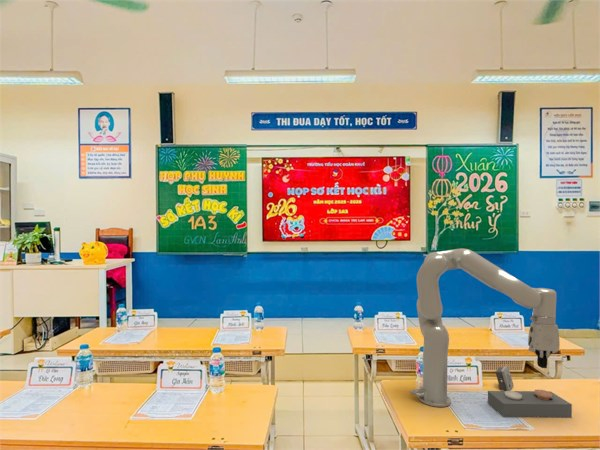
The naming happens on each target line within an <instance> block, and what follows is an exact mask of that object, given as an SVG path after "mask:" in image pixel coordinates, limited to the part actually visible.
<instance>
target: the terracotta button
mask: <svg viewBox="0 0 600 450" xmlns="http://www.w3.org/2000/svg"><path fill="white" fill-rule="evenodd" d="M533 391H534V394H535V395H536V396H537V398H539V399H540V400H549V398H552V393H553V392H552V393H550V392H548V390H545V389H535V390H533Z"/></svg>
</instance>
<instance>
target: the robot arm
mask: <svg viewBox="0 0 600 450" xmlns="http://www.w3.org/2000/svg"><path fill="white" fill-rule="evenodd" d="M457 269H461V270H462V271H464V272H466V273H467V274H469V275H470V276H471V277H473V278H475V279H477V281H479V282H481V283H483V284H484V285H486V286H488V287H489V288H491V289H493V290H495V291H497V292H500V293H502V294H504V295H505V296H508V297H509V298H510V299H512V301H513V302H514V303H515V304H517V305H518V306H519V305H520V306H521V307H524V308H526V309H531V310H532V309H533V311H532V316H530V318H529V319H530V321H531V323H530V326H529V329H528V338H527V339H528V341H527V342H528V343H527V344H528V346H529V347H528V352H531V353H534V354H535V355H536V356H537V360H536V361H537V362H536V363H537V366H538V367H539V368H540V369H541V368H542V369H547V368H548V359H549V358H550V356H551V355H552V354H556V353H558V351H559V349H560V330H559V326H558V324H556V319H557V318H556V317H557V315H556V313H557V311H556V310H557V291H555V289H551V288H547V287H546V288H545V287H537V288H536V287H531V286H530V285H528V284H526V283H525V282H523V281H522V280H520V279H518V278H516V277H515V276H513V275H512V274H510V273H509V272H507V271H505V269H502V268H501V267H499V266H498V265H496V264H494V263H492V262H491V261H489V260H488V259H487V258H484V257H483V256H481V255H480V254H478V253H477V252H475V251H474V250H471V249H468V248H455V249H448V250H442V251H434V252H430V253H428V254H427V255H426V256H425V257H424V260H423V263H422V264H421V266H420V267H419V269H418V272H417V274H416V289H417V297H418V298H417V300H416V311H417V317H418V322H419V323H418V324H419V329H420V332H421V334H422V337H423V350H422V386H420V388H418V389H410V395H415V397H418V400H419V401H420V402H421V403H423V404H425V405H427V406H431V407H435V408H436V407H437V408H442V407H448V406H450V405H451V404H452V399H451V398H450V396H448V358H449V357H448V355H449V354H448V353H449V347H450V346H449V345H450V336H449V335H450V334H449V332H448V330H447V328H446V327H445V326H444V325H443V319H442V314H443V309H444V308H443V304H442V303H443V302H442V301H441V300H442V299H441V294H440V287H439V285H440V284H439V280H440V277H441V275H443V274H444V273H446V271H451V270H452V271H453V270H457Z"/></svg>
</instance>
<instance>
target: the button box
mask: <svg viewBox="0 0 600 450" xmlns="http://www.w3.org/2000/svg"><path fill="white" fill-rule="evenodd" d="M505 391H506V390H487V404H488V405H489V406H490V407H491V406H492V408H493V409H494V411H496V412H497V411H498V412H499V413H498V412H497V413H498V414H500V415H501V416H502V417H503V418H552V419H553V418H556V419H557V418H559V419H560V418H562V419H563V418H566V419H567V418H571V419H572V417H573V416H572V415H573V414H572V411H573V410H572V409H573V408H572V407H573V404H572V403H571V402H569V401H567V400H566V399H564V398H562V397H560V396H559V395H557V394H555V393H554V392H552V391H550V390H549V391H548V390H547V391H548V392H550V393H552V398H549V400H540V399H539V398H537V396H536V395H535V394H534V391H535V390H533V391H532V390H527V391H526V390H513V391H514V392H518V393H520V394H521V395H522V399H520V400H510V399H509V398H507V397H506V396H505Z"/></svg>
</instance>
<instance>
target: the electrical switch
mask: <svg viewBox="0 0 600 450" xmlns="http://www.w3.org/2000/svg"><path fill="white" fill-rule="evenodd" d="M495 375H496V379H497V382H498V383H497V384H498V386H499V391H512V389H513V387H514V382H513V378H512V376H511V375H512V374H511V371H510V368H509V366H508V365H507V364H505V365H504V367H498V368H497V370H496V371H495Z"/></svg>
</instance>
